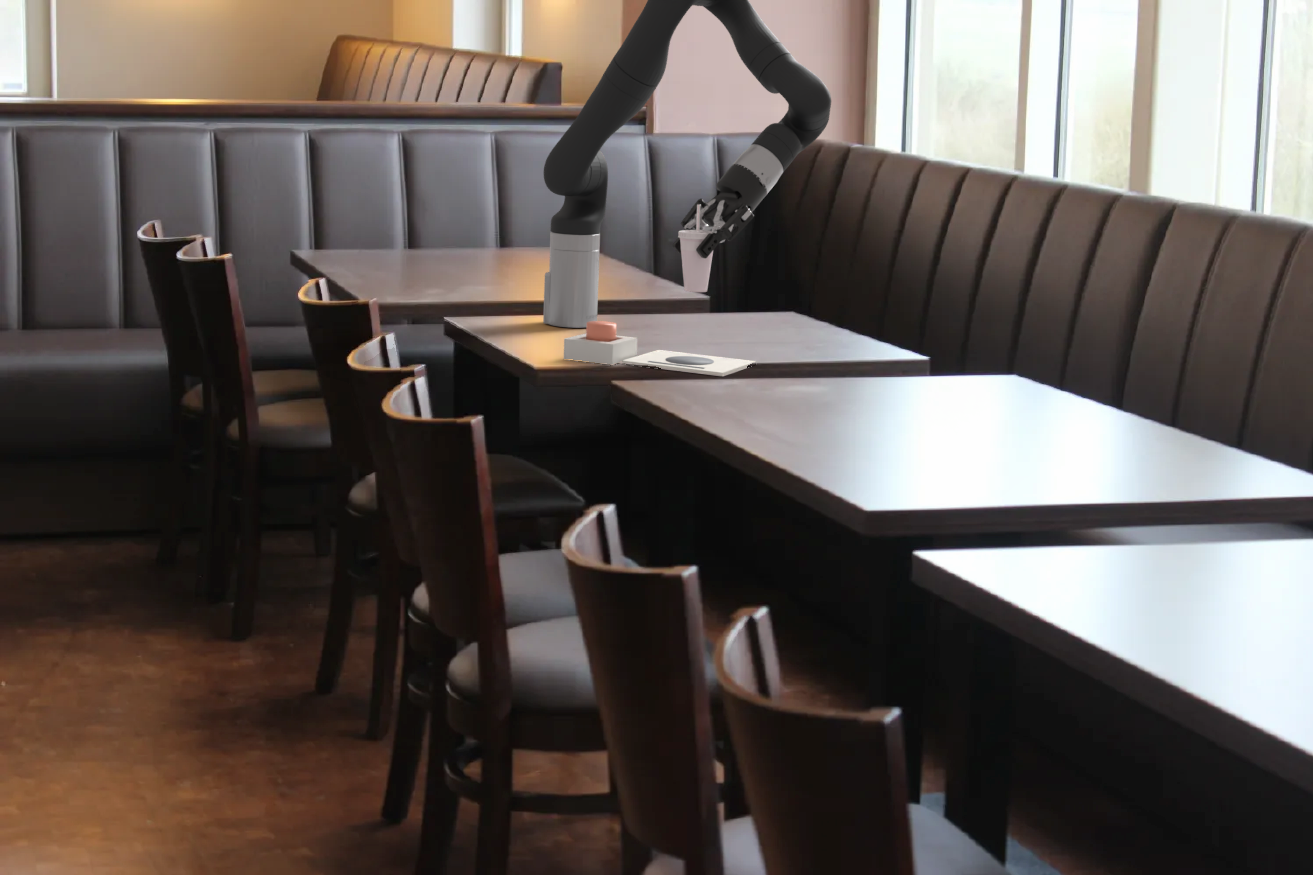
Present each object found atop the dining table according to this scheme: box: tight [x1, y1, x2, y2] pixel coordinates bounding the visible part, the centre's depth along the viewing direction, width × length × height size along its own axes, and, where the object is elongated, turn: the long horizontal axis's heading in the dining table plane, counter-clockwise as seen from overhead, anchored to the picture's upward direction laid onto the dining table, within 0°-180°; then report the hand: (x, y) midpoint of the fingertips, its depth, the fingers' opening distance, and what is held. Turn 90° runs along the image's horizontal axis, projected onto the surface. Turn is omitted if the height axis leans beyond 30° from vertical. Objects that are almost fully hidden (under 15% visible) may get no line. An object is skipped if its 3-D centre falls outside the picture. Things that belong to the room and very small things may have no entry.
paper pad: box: [622, 349, 757, 377], centre depth 282 cm, size 18×14×1 cm
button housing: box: [563, 332, 638, 364], centre depth 283 cm, size 9×9×4 cm
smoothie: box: [677, 205, 714, 293], centre depth 278 cm, size 6×6×14 cm
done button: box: [585, 320, 618, 342], centre depth 282 cm, size 5×5×4 cm
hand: (688, 252), depth 277 cm, fingers closed on smoothie, 6 cm apart
